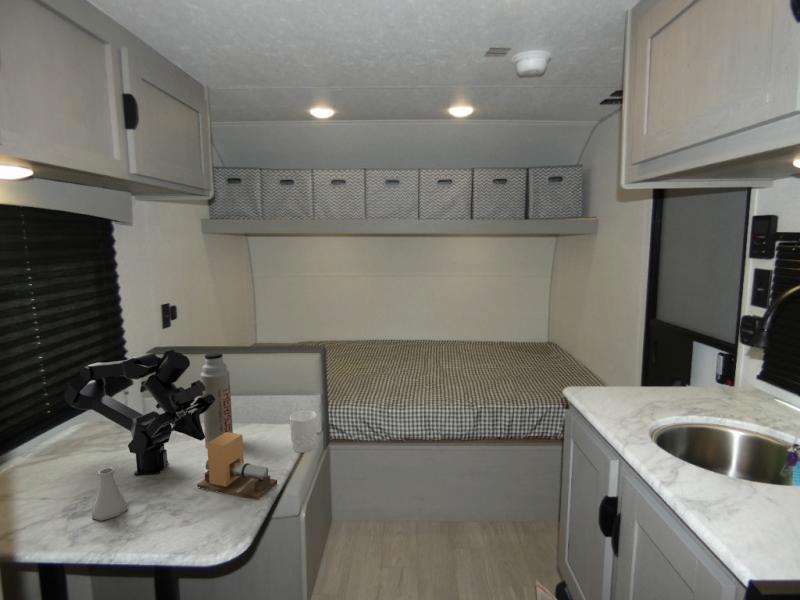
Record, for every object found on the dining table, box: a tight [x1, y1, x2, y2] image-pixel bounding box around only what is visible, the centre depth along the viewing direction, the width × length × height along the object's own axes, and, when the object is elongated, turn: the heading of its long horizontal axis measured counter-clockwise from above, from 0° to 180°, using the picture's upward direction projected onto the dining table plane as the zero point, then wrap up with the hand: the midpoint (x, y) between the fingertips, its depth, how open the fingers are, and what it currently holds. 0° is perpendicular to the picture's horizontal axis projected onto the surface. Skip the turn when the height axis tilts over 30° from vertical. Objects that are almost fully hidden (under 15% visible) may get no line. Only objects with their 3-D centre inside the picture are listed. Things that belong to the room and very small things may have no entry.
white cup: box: [289, 410, 318, 454], centre depth 137 cm, size 8×8×10 cm
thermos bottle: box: [200, 352, 234, 449], centre depth 139 cm, size 8×8×28 cm
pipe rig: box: [196, 459, 278, 501], centre depth 116 cm, size 18×8×6 cm, turn 71°
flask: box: [91, 466, 129, 522], centre depth 105 cm, size 7×7×10 cm
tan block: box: [206, 432, 245, 487], centre depth 117 cm, size 5×7×10 cm
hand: (203, 439), depth 119 cm, fingers closed
